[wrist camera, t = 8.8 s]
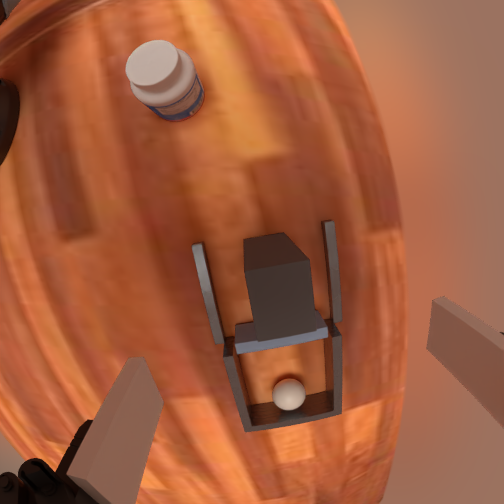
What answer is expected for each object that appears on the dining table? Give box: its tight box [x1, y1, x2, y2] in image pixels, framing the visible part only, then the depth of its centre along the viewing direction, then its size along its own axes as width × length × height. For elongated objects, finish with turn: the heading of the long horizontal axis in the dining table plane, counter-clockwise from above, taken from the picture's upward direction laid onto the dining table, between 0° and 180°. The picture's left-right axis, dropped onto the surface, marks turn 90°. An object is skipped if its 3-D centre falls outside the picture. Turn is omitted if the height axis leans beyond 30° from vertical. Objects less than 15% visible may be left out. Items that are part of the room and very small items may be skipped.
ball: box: [272, 379, 306, 410], centre depth 30 cm, size 4×4×4 cm
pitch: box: [192, 220, 342, 432], centre depth 28 cm, size 23×14×4 cm, turn 10°
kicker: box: [235, 232, 328, 354], centre depth 23 cm, size 10×9×11 cm
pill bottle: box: [126, 40, 204, 121], centre depth 20 cm, size 6×5×10 cm
